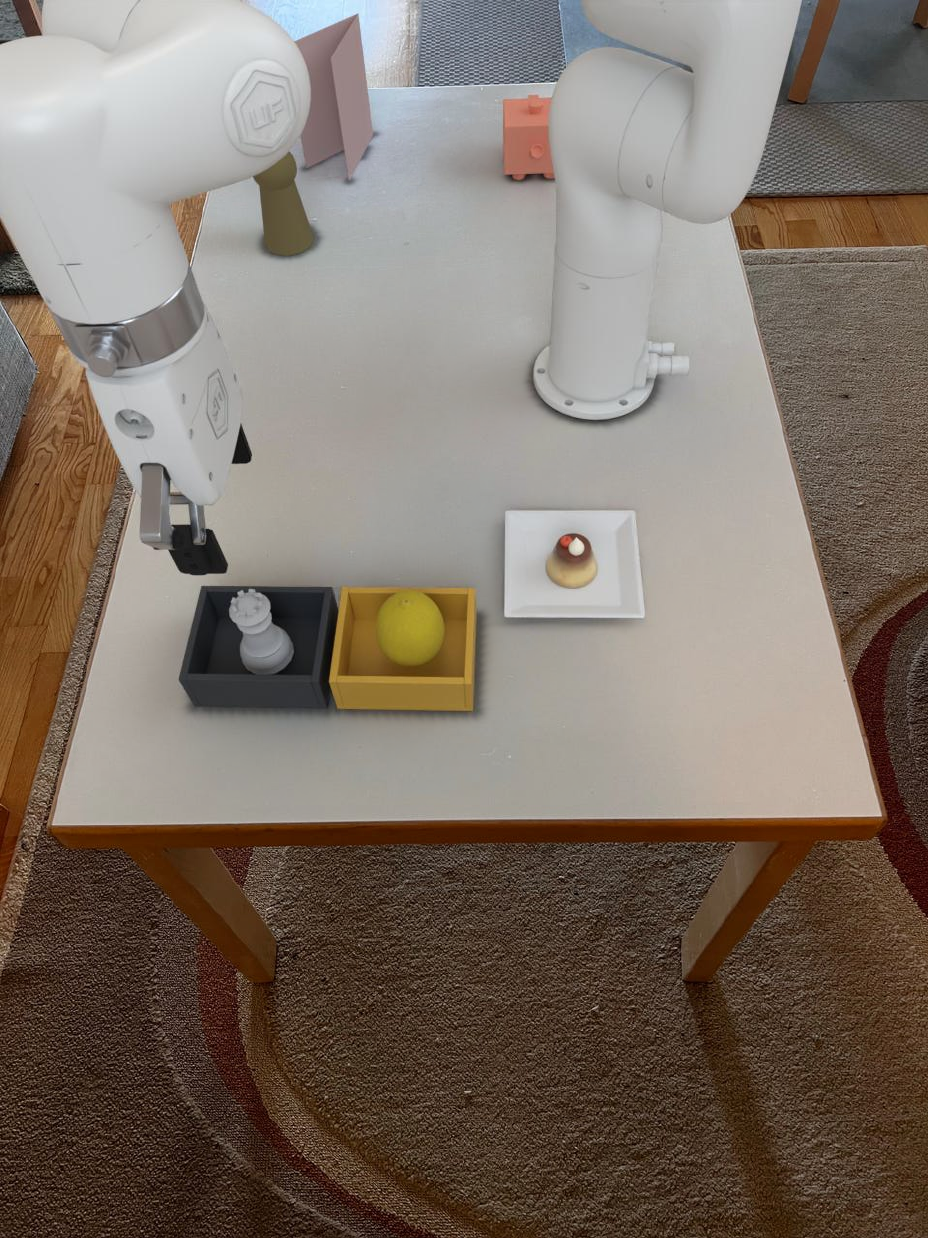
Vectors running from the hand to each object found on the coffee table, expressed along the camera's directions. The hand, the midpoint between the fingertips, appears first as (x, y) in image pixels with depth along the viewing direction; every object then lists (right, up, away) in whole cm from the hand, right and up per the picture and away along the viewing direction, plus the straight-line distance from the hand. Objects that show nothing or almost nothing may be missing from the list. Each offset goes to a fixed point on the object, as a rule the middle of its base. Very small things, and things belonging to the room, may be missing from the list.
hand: (218, 513), depth 63 cm
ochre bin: (+12, -11, +14) cm, 22 cm away
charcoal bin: (0, -11, +15) cm, 19 cm away
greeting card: (+2, +54, +59) cm, 80 cm away
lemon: (+13, -10, +14) cm, 22 cm away
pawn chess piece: (-4, +39, +49) cm, 63 cm away
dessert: (+27, -3, +19) cm, 33 cm away
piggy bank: (+26, +51, +56) cm, 80 cm away
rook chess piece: (0, -11, +15) cm, 18 cm away
